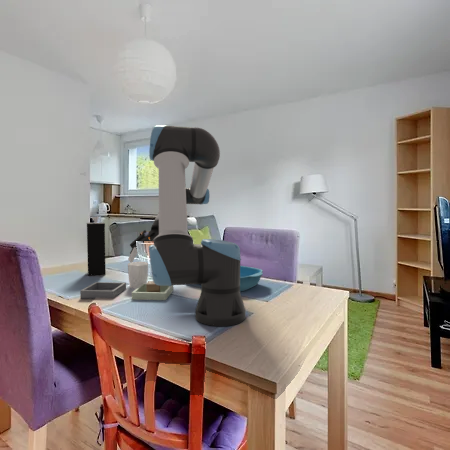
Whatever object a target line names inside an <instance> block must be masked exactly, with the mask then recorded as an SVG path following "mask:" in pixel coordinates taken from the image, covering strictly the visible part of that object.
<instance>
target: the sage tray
mask: <svg viewBox="0 0 450 450" xmlns="http://www.w3.org/2000/svg"><path fill="white" fill-rule="evenodd" d="M173 291H174V285H171V286H160V292H147V291H146V284H142V285H141V286H139V287H138V288H137V289H134V290H133V291H131V300H138V301H139V300H142V301H143V300H145V301H146V300H148V301H166V300H167V299H168V298H169V297H170V295H172V293H173Z"/></svg>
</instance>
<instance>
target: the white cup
mask: <svg viewBox="0 0 450 450" xmlns="http://www.w3.org/2000/svg"><path fill="white" fill-rule="evenodd" d="M148 271H149V262H147V261H133V262H131V263H130V262H129V263H127V272H128V282H129V283H128V284H129V288H130V289H134V290H136V289H137V288H138V287H139V286H141V285H142V284H147V282H148V278H149V277H148V275H149V274H148Z"/></svg>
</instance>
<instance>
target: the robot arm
mask: <svg viewBox="0 0 450 450" xmlns="http://www.w3.org/2000/svg"><path fill="white" fill-rule="evenodd" d="M148 152H149V155H148V156H149V159H150V160H151V161H153V164H154V166H155V168H157V169H158V213H157V215H156V217H155V218H154V220H153V222H152V225H151V227H150V229H149V230H150V231H147V230H146V229H145V230H143V231H142V233H141V234H140V235H138V236H137V238H135V239H134V240H133V241H132V242H131V243H130V244H129V247H130V248H131V250H130V252H129V257H128V259H127V260H128V261H129V263H131V262H134V261H135V258H136V256H137V255H138V252H137V248H136V247H137V246H136V241H151V242H153V244H150V245H149V246H148V253H149V262H150V269H151V275H152V276H151V277H152V281H153V282H154V283H155V284H156V285H159V286H171V285H173V286H183V285H184V286H185V285H186V286H187V285H200V286H201V287H200V288H201V290H200V295H199V297H198V301H197V305H196V308H195V311H194V313H195V320H196V321H198V322H199V323H201V324H203V325H207V326H212V327H230V326H234V325H239V324H240V323H243V322H244V321H245V320H246V317H247V316H246V313H247V312H246V307H245V305H244V300H243V298H242V297H243V296H242V294H241V292H240V266H241V260H242V257H241V248H240V246H239V244H237V243H235V242H232V241H228V240H221V239H215V238H213V239H212V238H203V239H201V241H200V243H199V244H197V243H196V244H195V243H194V238H193V236H192V235H190V234H189V232H188V231H189V230H188V213H187V211H188V209H187V207H188V206H187V205H208V204H209V202H210V189H209V188H208V186H209V185H210V184H209V183H210V181H211V177H212V174H213V172H214V168H215V167H217V165H218V163H219V160H220V158H221V156H220V155H221V151H220V147H219V144H218V141H217V140H216V139H215V137H214V136H213V135H212V133H210V132H209V131H208V130H206V129H205V128H204V129H203V128H201V127H198V126H197V127H196V126H195V127H192V126H191V127H190V126H177V125H167V124H163V125H162V124H161V125H155V126H154V127H152V130H151V134H150V141H149V151H148ZM190 162H191V163H194V165H193V171H192V176H191V183H190V186H189V187H186V169H187V168H188V166H189V165H190Z"/></svg>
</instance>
